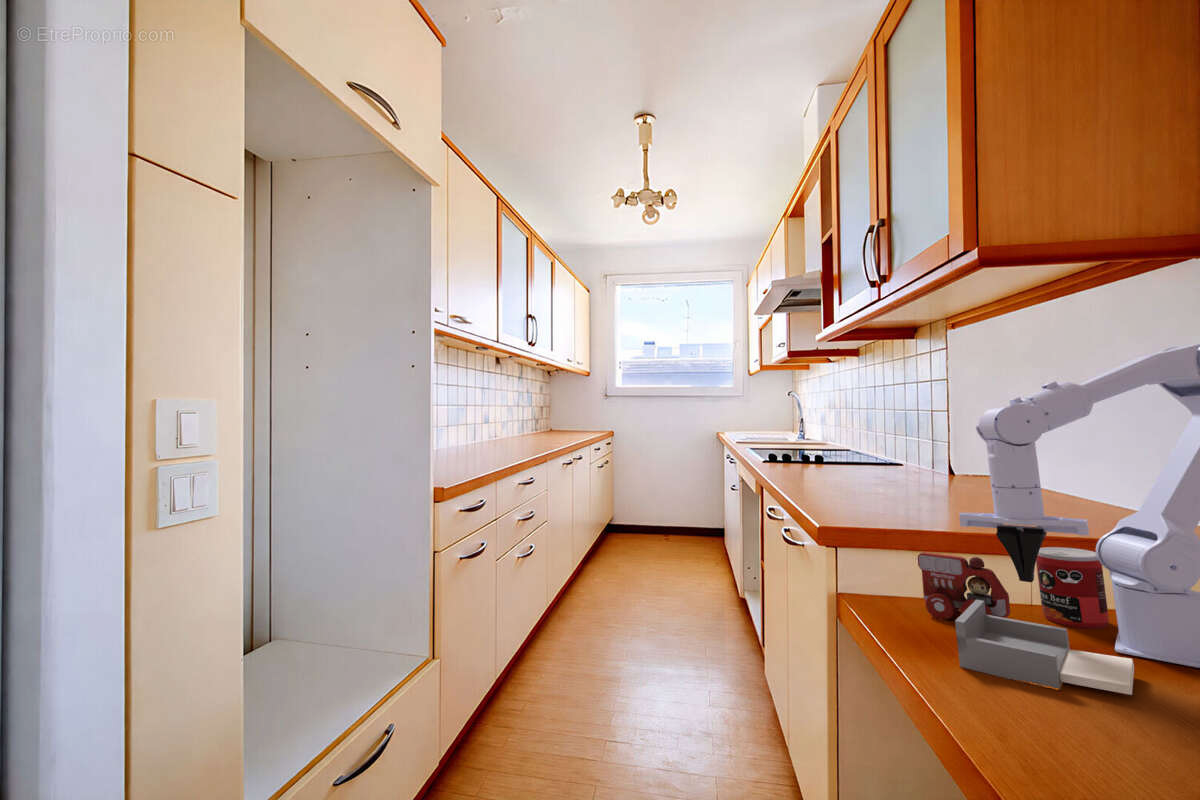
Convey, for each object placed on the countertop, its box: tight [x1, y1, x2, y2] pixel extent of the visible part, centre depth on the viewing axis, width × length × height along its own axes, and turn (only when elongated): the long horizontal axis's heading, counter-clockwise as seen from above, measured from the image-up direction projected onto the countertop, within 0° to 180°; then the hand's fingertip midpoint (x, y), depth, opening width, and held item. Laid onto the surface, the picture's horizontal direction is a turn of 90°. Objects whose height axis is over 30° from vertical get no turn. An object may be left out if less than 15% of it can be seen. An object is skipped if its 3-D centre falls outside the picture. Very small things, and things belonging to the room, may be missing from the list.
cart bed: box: [954, 600, 1071, 689], centre depth 68 cm, size 10×12×6 cm
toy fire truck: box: [917, 551, 1011, 621], centre depth 85 cm, size 7×12×10 cm, turn 40°
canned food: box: [1035, 546, 1110, 630], centre depth 82 cm, size 8×8×11 cm
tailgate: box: [1060, 649, 1135, 696], centre depth 62 cm, size 1×9×6 cm
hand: (1026, 580), depth 73 cm, fingers closed
